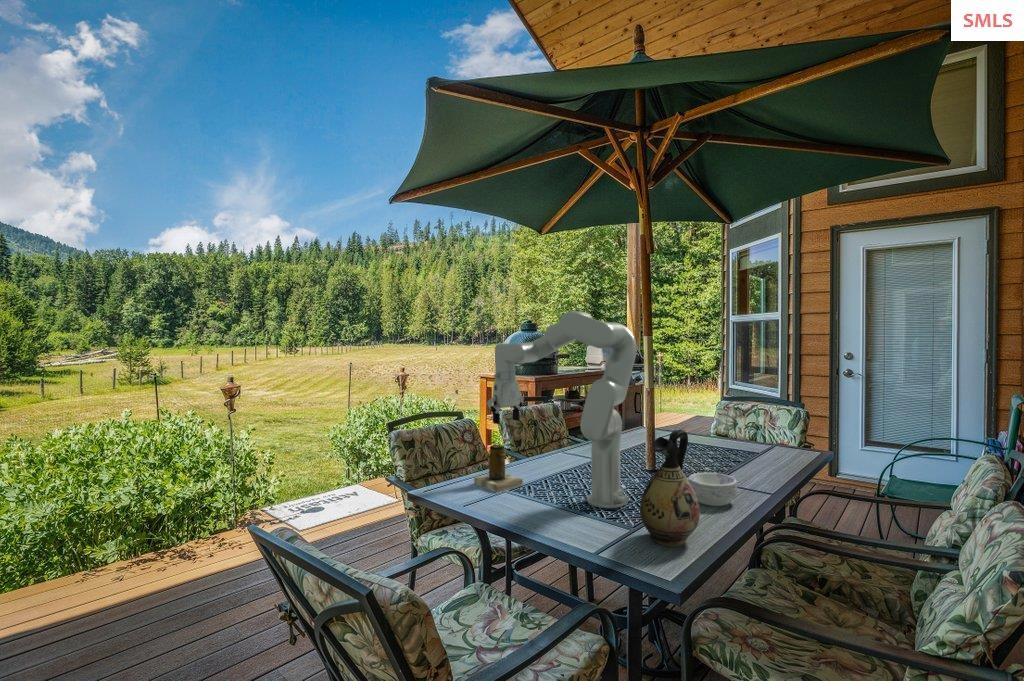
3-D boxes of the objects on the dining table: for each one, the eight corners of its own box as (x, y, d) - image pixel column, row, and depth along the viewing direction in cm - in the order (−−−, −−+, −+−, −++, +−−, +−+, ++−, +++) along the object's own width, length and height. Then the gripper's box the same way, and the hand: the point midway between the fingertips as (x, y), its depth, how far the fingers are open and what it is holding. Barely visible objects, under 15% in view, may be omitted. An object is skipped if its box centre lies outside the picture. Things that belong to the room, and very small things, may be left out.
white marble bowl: (678, 497, 170) (678, 474, 170) (713, 492, 175) (713, 469, 175) (711, 512, 156) (710, 487, 156) (748, 506, 161) (748, 481, 161)
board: (522, 485, 185) (522, 479, 185) (497, 492, 177) (497, 485, 177) (499, 477, 196) (499, 471, 195) (474, 483, 188) (474, 477, 188)
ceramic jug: (676, 558, 125) (675, 438, 124) (628, 537, 137) (627, 429, 137) (715, 541, 134) (714, 430, 134) (667, 523, 147) (666, 422, 147)
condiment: (498, 474, 192) (498, 443, 192) (513, 479, 185) (512, 446, 185) (483, 477, 187) (483, 446, 187) (497, 482, 180) (497, 450, 180)
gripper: (493, 378, 178) (494, 426, 178) (529, 375, 190) (530, 420, 190) (481, 377, 184) (482, 423, 184) (516, 374, 195) (517, 418, 195)
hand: (506, 421), depth 187 cm, fingers open, 9 cm apart
